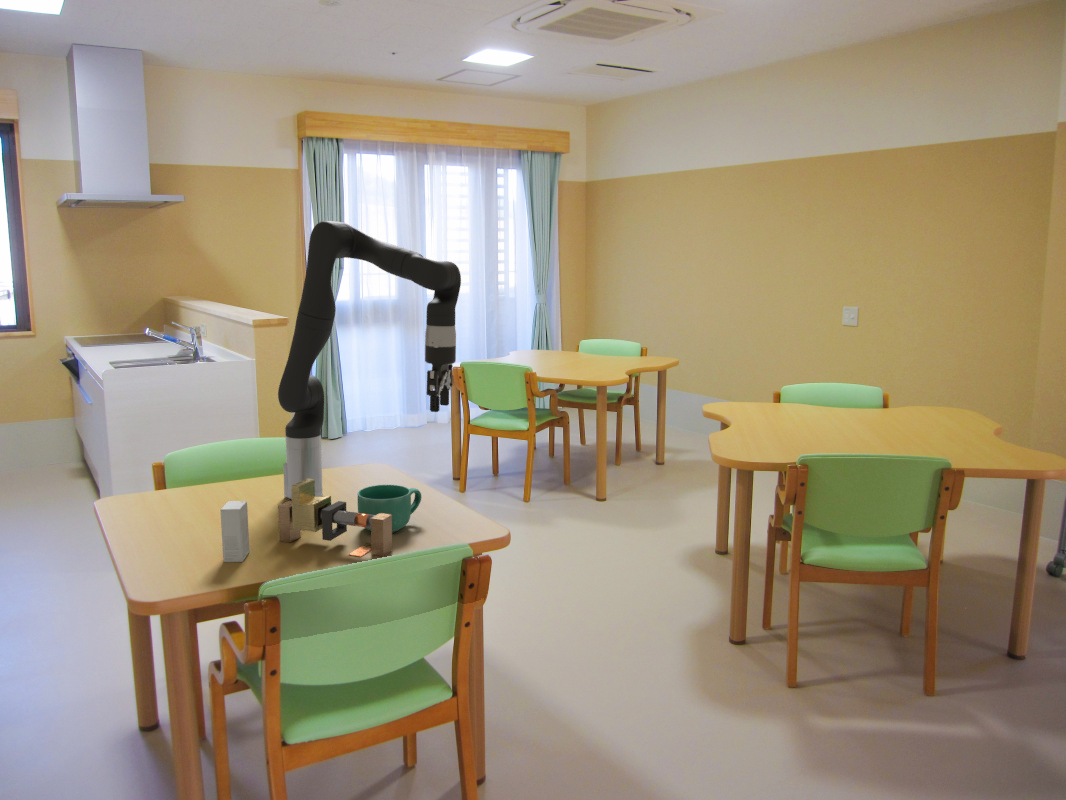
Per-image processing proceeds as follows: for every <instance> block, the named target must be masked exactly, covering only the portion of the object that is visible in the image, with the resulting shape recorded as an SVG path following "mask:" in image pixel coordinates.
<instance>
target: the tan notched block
mask: <svg viewBox="0 0 1066 800" xmlns="http://www.w3.org/2000/svg"><path fill="white" fill-rule="evenodd" d="M291 489H292V500H291V501H292V519H293V529H298V530H300V531H306V532H311V533H312V532H313V533H316V532H319V531H320V530H322V521H318V508H326V507H328V506H330V505H332V495H328V494H327V495H325V496H322V497H318V496H315V480H314V479H305V480H303V481H301V482H298V483H296V484H294V485H291Z"/></svg>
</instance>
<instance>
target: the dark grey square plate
mask: <svg viewBox="0 0 1066 800" xmlns="http://www.w3.org/2000/svg"><path fill="white" fill-rule="evenodd" d="M338 510H341V511H347V501H341V500H340V501H339V500H338V501H336V502H334V503H331V505H330V506H328V507H326V508H324V509H322V529H321V531H322V532H321V533H322V535H321V536H322V537H321V538H322V539H321V540H323V541H328V542H329V541H332V540H334V539H336V538H337V537H339V536H342V534H345V533H346V532H347V531H348V530H347V529H348V527H347V526H348V525H344V524H337V523H336V527H335V528H333V523H332V514H333V513H334V512H336V511H338Z"/></svg>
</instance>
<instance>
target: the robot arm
mask: <svg viewBox="0 0 1066 800" xmlns="http://www.w3.org/2000/svg"><path fill="white" fill-rule="evenodd" d="M307 250H308V251H307V260H306V261H307V262H306V272H305V277H304V282H303V288H302V292H301V298H300V301H299V302H300V303H299V307H298V311H297V315H296V319H295V320H296V321H295V326H294V332H293V337H292V340H291V345H290V349H289V352H288V353H289V354H288V357H287V361H286V365H285V367H284V369H283V372H282V376H281V379H280V383H279V385H278V391H277V398H278V402H279V405H280V406H281V408H282V409H283V411H285V412H286V413H290V414H291V413H292V414H293V413H294V415H293V417H292V419H291V420H290V421H289V422H288V423H287V424H286V425H285V428H284V429H285V449H286V450H285V453H286V455H285V456H286V458H285V459H286V461H284V463H283V467H282V468H283V492H284V498H287V499H289V500H290V501H292V489H291V485H294V484H296V483H298V482H301V481H303V480H305V479H314V480H315V496H318V497H323V465H322V464H323V460H322V456H323V455H322V428H323V424H324V419H325V391H324V386H323V384H322V382H321V381H320V379H319V378H318V377H317V376H315V375H312V374H311V371H312V368H313V366H314V364H315V361H316V360H317V358H318V356H319V355H320V353H321V352H322V350H323V349H324V347H325V346H326V344H327V343H328V341H329V339H330V336H331V335H332V331H333V327H334V326H333V325H334V323H335V319H336V309H337V308H336V301H335V296H334V293H333V288H332V276H333V270H334V266H335V263H336V260H337V259H345V258H346V259H355V260H359V261H360V260H361V261H365V262H367V263H370V264H372V265H375V267H377V268H379V269H381V270H382V271H384V272H386V273H387V274H391V275H393V276H396V277H399V278H403V279H405V280H409V281H411V282H413V283H414V284H416V285H418V286H420V287H422V288H425V289H427V290H431V291H434V292H433V299H431V301H429V302H428V303H427V304H426V305H427V306H426V322H425V323H426V328H425V332H424V334H425V335H424V337H425V340H424V341H425V343H424V362H425V363H426V364H431V365H432V367H431V370H429V369H428V370H427V372H426V396H428V397H429V411H430V412H432V413H438V412H439V411H440V405H441V406H446V407H447V406H449V405H450V391H451V388H452V387H453V368H454V367H453V364H455V363H456V359H457V357H456V356H457V354H456V353H457V330H456V307H457V303H458V299H459V295H460V291H461V287H462V286H461V284H462V278H461V277H462V275H461V271H460V269H459V267H458V266H457V264H456V263H454V262H452V261H450V260H449V261H448V260H447V261H446V260H445V261H444V260H439V261H437V260H434V259H430V258H428V257H427V258H426V257H424V256H423V255H422V254H421V253H418V252H416V251H414V250H411V249H408V248H404V247H401V246H399V245H395V244H392V243H388V242H385V241H382V240H379V239H376V238H374V237H373V236H371V235H368V234H366V233H364V232H362V231H361V230H359V229H357V228H355V227H354V226H352V225H350V224H348V223H346V222H343V221H336V220H335V221H333V220H322V221H320V222H317V223H316V224H315V225H314V227H313V229H312V231H311V233H310V237H309V243H308V249H307Z"/></svg>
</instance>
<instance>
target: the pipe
mask: <svg viewBox="0 0 1066 800" xmlns="http://www.w3.org/2000/svg"><path fill="white" fill-rule="evenodd" d="M277 507H278V508H277V509H278V513H277V514H278V537H279V538H278V539H279V540H278V541H279V542H284V543H292V542H294V541H296V540H298V539H300V538H301V531H302V530H298V529H293V519H292V500H287V501H284V502H283V503H281V504H278V506H277ZM322 509H324V508H318V521H322ZM332 524H336V525H337V524H344V525H347V526H352V527H358V528H359V527H360V528H364V527H365V528H364V529H366V528H371V531H370V537H371V538H370V539H371V540H370V542H365V543H364V544H363V545H361V546H359V547H358V548H357V549H355V550H353V551H352V552H350V553H349V554H348V556H351V557H359V558H361V557H363V556H365V555H366V554H368V553H369V552H370V551H371V556H377V557H382V556H384V557H385V556H386V555H388V554H390V553H391V552H392V551H393V533H392V515H391V514H384V513H379V514H377V515H371V514H363V513H358V512H354V511H348V510H346V511H341V510H338V511H336V512H334V513H333V514H332ZM391 550H392V551H391ZM390 551H391V552H390Z"/></svg>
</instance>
